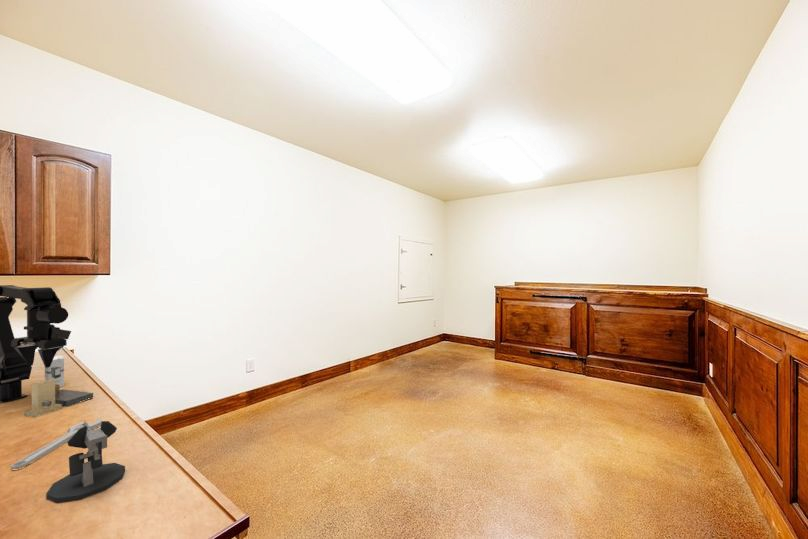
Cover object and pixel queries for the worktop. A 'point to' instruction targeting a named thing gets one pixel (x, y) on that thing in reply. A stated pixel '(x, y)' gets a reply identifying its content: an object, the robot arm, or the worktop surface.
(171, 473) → the worktop surface
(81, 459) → the gun turret
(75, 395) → the brushed steel slab
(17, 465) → the adjustable wrench
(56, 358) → the ink box
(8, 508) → the worktop surface
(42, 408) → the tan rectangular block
